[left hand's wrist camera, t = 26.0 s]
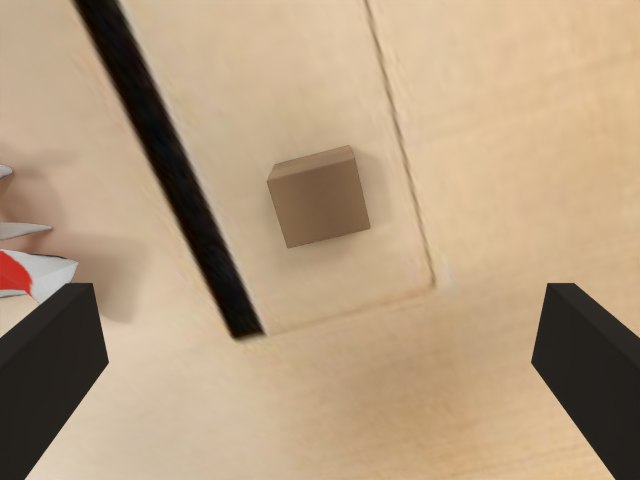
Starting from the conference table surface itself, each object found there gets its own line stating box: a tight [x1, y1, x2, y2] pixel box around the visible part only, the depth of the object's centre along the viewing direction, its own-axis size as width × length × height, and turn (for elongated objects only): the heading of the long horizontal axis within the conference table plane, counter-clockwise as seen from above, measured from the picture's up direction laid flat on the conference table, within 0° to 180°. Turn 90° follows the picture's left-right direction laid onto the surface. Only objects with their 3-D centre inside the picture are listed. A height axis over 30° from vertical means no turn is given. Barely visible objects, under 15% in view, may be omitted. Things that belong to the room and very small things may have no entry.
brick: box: [267, 145, 371, 248], centre depth 27 cm, size 5×4×4 cm
